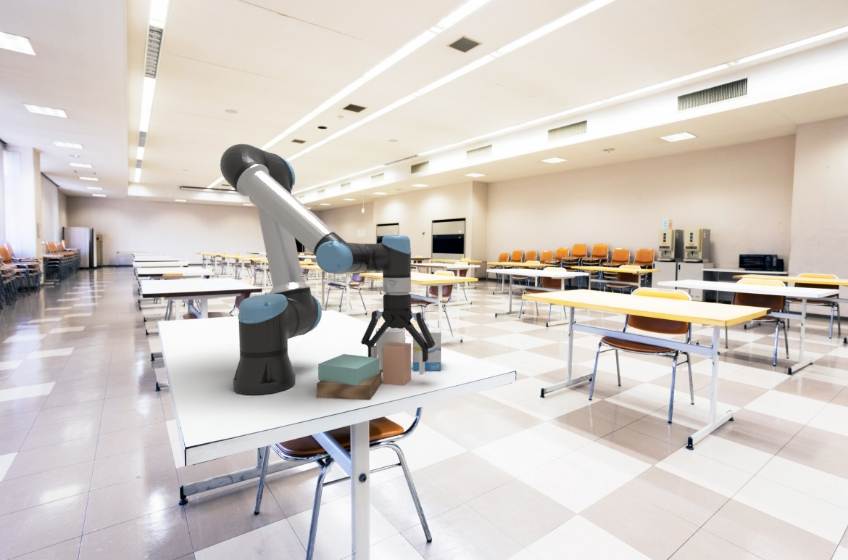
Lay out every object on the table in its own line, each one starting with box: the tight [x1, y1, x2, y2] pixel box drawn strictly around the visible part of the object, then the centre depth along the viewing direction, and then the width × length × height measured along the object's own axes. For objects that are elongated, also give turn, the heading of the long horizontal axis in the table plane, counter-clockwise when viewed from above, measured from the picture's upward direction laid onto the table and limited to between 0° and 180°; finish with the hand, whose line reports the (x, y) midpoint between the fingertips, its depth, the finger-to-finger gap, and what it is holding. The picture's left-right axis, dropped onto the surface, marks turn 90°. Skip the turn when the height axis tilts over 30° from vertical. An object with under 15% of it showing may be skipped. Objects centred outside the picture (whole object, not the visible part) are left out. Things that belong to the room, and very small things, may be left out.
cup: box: [375, 327, 407, 372], centre depth 123 cm, size 9×9×12 cm
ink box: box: [412, 326, 442, 372], centre depth 125 cm, size 9×8×12 cm
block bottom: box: [316, 370, 383, 401], centre depth 104 cm, size 13×13×4 cm
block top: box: [317, 353, 380, 386], centre depth 103 cm, size 11×11×4 cm
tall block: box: [382, 342, 412, 387], centre depth 111 cm, size 6×6×10 cm
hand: (397, 371), depth 111 cm, fingers open, 13 cm apart
